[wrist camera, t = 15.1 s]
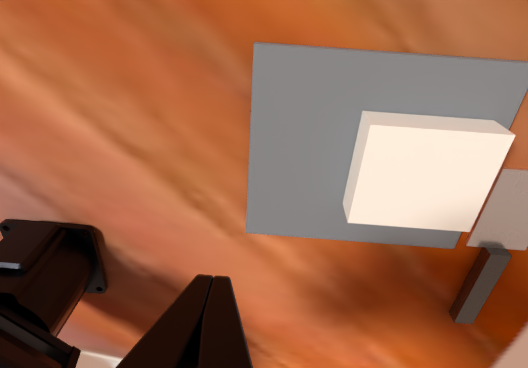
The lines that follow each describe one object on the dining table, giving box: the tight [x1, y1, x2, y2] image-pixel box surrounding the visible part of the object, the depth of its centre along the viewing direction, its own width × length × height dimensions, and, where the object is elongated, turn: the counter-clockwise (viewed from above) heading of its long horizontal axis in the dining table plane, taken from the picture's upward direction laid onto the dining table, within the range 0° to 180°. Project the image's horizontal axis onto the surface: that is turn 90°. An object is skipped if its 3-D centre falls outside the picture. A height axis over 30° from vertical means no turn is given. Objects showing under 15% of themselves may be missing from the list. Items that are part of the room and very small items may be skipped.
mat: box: [246, 42, 528, 249], centre depth 20 cm, size 12×14×1 cm
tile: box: [343, 111, 515, 232], centre depth 19 cm, size 6×2×7 cm
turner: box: [449, 167, 528, 324], centre depth 24 cm, size 13×4×1 cm, turn 177°
